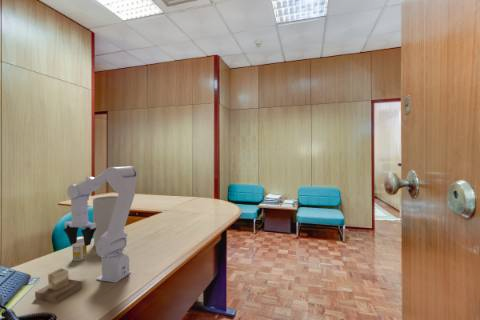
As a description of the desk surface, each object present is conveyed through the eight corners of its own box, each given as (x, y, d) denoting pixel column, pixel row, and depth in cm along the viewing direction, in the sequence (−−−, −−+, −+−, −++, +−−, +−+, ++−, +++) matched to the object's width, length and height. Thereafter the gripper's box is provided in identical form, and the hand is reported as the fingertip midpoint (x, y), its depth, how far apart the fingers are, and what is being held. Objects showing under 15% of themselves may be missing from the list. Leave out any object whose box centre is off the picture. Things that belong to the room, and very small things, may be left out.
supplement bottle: (84, 255, 113) (84, 235, 113) (88, 258, 109) (88, 237, 109) (71, 259, 109) (70, 238, 108) (74, 262, 105) (74, 240, 105)
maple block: (68, 284, 82) (67, 270, 82) (55, 290, 78) (55, 275, 78) (61, 282, 83) (60, 268, 83) (48, 288, 80) (48, 273, 80)
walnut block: (81, 289, 84) (81, 281, 84) (56, 304, 75) (56, 295, 75) (62, 286, 86) (61, 278, 86) (35, 300, 78) (35, 292, 78)
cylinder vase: (88, 245, 125) (87, 199, 125) (110, 238, 136) (109, 195, 136) (104, 249, 120) (103, 200, 119) (125, 241, 131) (124, 196, 131)
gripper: (57, 213, 96) (57, 246, 97) (84, 215, 93) (85, 249, 93) (73, 210, 103) (73, 240, 103) (99, 211, 99) (100, 243, 100)
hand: (80, 244), depth 99 cm, fingers open, 7 cm apart
